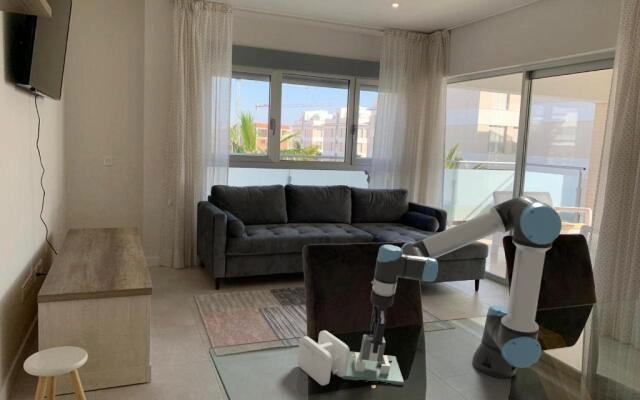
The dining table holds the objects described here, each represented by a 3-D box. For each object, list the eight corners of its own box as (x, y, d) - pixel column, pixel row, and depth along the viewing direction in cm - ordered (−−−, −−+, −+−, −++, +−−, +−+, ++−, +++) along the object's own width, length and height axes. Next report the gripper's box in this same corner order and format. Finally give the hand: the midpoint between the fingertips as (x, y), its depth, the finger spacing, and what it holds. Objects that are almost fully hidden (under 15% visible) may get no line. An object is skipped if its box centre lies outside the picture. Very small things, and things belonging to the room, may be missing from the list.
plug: (380, 355, 168) (384, 335, 166) (382, 361, 164) (385, 341, 162) (360, 353, 167) (363, 332, 166) (361, 359, 163) (365, 338, 162)
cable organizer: (347, 381, 159) (353, 348, 157) (322, 390, 152) (327, 356, 150) (319, 358, 170) (323, 328, 168) (294, 366, 163) (298, 334, 161)
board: (394, 359, 176) (396, 348, 175) (403, 385, 160) (405, 373, 159) (339, 353, 175) (341, 342, 174) (342, 378, 159) (344, 367, 158)
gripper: (368, 280, 169) (358, 342, 174) (375, 301, 152) (363, 369, 157) (390, 283, 169) (379, 345, 174) (399, 304, 153) (386, 371, 157)
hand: (371, 356), depth 165 cm, fingers closed on plug, 4 cm apart
